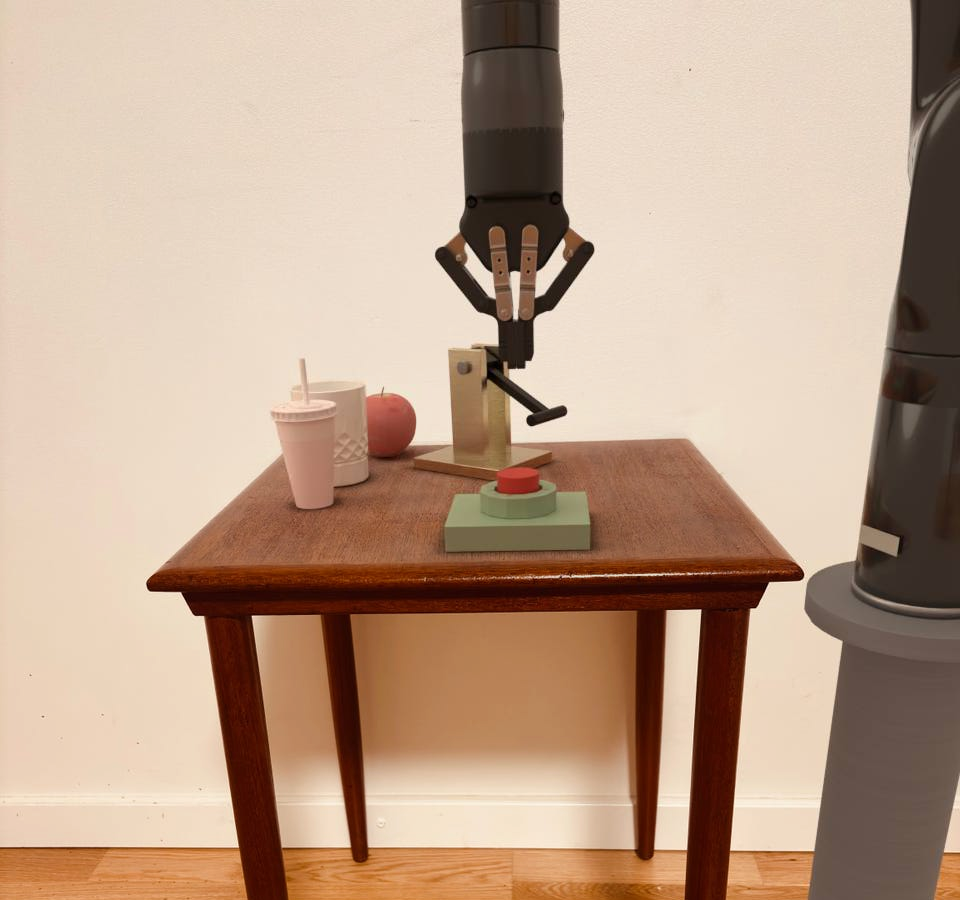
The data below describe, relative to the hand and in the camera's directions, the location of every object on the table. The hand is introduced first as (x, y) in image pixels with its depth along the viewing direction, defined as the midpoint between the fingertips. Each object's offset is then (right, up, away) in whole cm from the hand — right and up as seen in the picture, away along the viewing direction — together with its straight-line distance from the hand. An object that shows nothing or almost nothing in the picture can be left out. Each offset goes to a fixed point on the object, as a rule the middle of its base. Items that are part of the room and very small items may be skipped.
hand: (517, 367), depth 76 cm
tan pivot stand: (-3, -3, +28) cm, 29 cm away
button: (0, -10, +4) cm, 10 cm away
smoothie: (-20, -9, +16) cm, 27 cm away
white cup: (-19, -5, +25) cm, 32 cm away
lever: (0, +4, +23) cm, 23 cm away
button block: (0, -13, +5) cm, 14 cm away
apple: (-14, -1, +34) cm, 37 cm away
